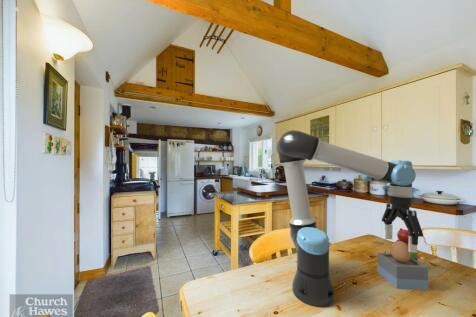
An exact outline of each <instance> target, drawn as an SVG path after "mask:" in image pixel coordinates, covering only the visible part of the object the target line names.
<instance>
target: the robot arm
mask: <svg viewBox="0 0 476 317" xmlns="http://www.w3.org/2000/svg"><path fill="white" fill-rule="evenodd" d="M276 152H277V154H278V159H279V164H280V165H281V166H282V167H283V169H284V175H285V181H286V182H285V183H286V187H287V193H288V194H287V195H288V200H289V206H290V214H291V218H290V220H289V227H290V230H289V235H290V238H291V241H292V242H293V245H294V247H295V249H296V270H295V271H296V272H295V274H294V278H293V280H292V285H291V286H292V288H291V289H292V294H294V296H295V297H296V298H297V299H298V300H300V301H301V302H303V303H305V304H308V305H310V306H314V307H326V306H330V305H331V304H333V302H334V301H335V290H334V287H333V284H332V282H331V277H330V239H329V236H328V234H327V233H326V232H325V231H323V230H321V229H319V228H318V227H317V221H316V218H315V217H313V216H312V214H311V213H312V212H311V206H310V200H309V195H308V193H309V192H308V188H307V183H306V182H307V181H306V176H305V168H304V164H305V162H306V160H308V161H313V160H317V161H319V162H322V163H325V164H329V165H331V166H335V167H338V168H341V169H345V170H346V171H350V172H353V173H354V172H355V173H357V174H359V175H360V178H361V179H362V181H364V182H377V183H384V184H389V194H390V195H389V203H387V204H386V208H385V210H384V213H383V215H382V217H381V222H383V224H384V232H385V233H384V238H385V240H393V229H394V228H393V226H394V225H393V222H394V221H395V220H396V219H397V218H399V219H401V220H402V221H403V223H404V225H405V226H406V227H405V228H407V229H406V230H408V231H409V233H410V235H409V246H408V251H409V252H415V253H417V252H418V245H419V237H421V238H422V237H424V232H423V230H422V227H421V224H420V221H419V219H418V213H417V212H418V211H417V210H412V209H410V207H412V206H413V198H412V197H413V183H414V181H415V180H416V176H417V173H416V171H415V169H414V167H413V162H412V161H410V160H391V161H386V160H384V159H381V158H378V157H374V156H371V155H367V154H364V153H363V152H358V151H354V150H352V149H348V148H346V147H341V146H340V145H339V146H338V145H336V144H332V143H328V142H325V141H322V140H321V138H320V137H318V136H315V135H312V134H309V133H306V132H302V131H300V130H287V131H286V132H284V133H282V136H281V137H279V139H278V140H277V143H276Z"/></svg>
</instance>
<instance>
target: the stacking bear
mask: <svg viewBox="0 0 476 317" xmlns="http://www.w3.org/2000/svg"><path fill="white" fill-rule="evenodd" d="M409 235H410V233H409V231H408V229H403V228H399V229H398V231H397V233H396V236H397V240H396V241H402V242H404V243H405V244H406V245H407V246H409ZM418 253H419V252H418V251H417V253H415V252H411V258H413V259H414V260H416V261H418V259H419V254H418Z"/></svg>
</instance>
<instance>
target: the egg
mask: <svg viewBox="0 0 476 317" xmlns="http://www.w3.org/2000/svg"><path fill="white" fill-rule="evenodd" d="M390 253H391V254H392V256H393V258H394V259H395V260H397V261H398V262H401V263H405V262H407V261H409V260H410V258H411V252H409V251H408V246H407V245H406V244H405V243H404V242H402V241H397V240H395V241H394V242H393V243H392V245H391V247H390Z"/></svg>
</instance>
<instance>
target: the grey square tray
mask: <svg viewBox="0 0 476 317" xmlns="http://www.w3.org/2000/svg"><path fill="white" fill-rule="evenodd" d="M377 274H379V275H380V276H381V277H382V278H384V279H385V280H386V281H387V282H388V283H389V284H390V285H392V286H393V287H394V288H396V289H397V290H414V291H415V290H417V291H429V267H428V266H426V265H425V264H423V263H421V262H419V261H418V260H417V261H416V260H414V259H413V258H410V260H409V261H407V262H405V263H401V262H398V261H397V260H395V259H394V258H393V256H392V254H391V252H377Z"/></svg>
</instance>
